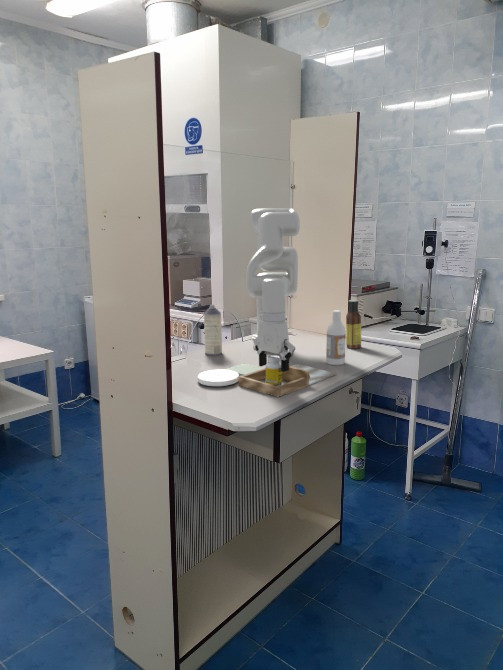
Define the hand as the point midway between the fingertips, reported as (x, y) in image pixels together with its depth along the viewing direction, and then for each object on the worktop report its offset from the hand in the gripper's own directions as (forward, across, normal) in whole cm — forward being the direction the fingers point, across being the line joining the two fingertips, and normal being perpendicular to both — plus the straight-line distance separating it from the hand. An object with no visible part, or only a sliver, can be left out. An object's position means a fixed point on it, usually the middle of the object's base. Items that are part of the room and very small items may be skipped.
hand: (273, 368), depth 176 cm
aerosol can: (+6, -45, +14) cm, 48 cm away
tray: (+6, -16, +4) cm, 18 cm away
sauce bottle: (+5, -8, +59) cm, 60 cm away
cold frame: (+6, 0, +8) cm, 10 cm away
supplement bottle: (+6, 0, 0) cm, 6 cm away
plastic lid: (+6, -17, -9) cm, 20 cm away
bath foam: (+6, 0, +35) cm, 36 cm away
